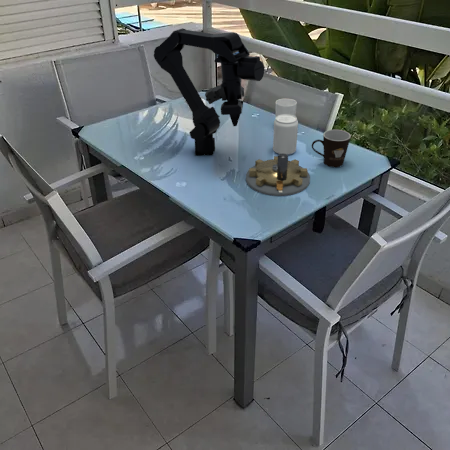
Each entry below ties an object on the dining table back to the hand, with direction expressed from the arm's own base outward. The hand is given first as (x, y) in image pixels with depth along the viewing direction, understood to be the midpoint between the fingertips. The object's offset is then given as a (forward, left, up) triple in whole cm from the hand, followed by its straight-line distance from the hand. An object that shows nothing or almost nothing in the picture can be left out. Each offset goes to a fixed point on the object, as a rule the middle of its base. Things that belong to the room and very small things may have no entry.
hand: (235, 125), depth 154 cm
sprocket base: (+13, -13, -13) cm, 22 cm away
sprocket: (+13, -13, -11) cm, 22 cm away
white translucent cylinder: (+19, +27, -13) cm, 35 cm away
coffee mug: (+31, -2, -13) cm, 34 cm away
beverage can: (+17, +7, -13) cm, 23 cm away
